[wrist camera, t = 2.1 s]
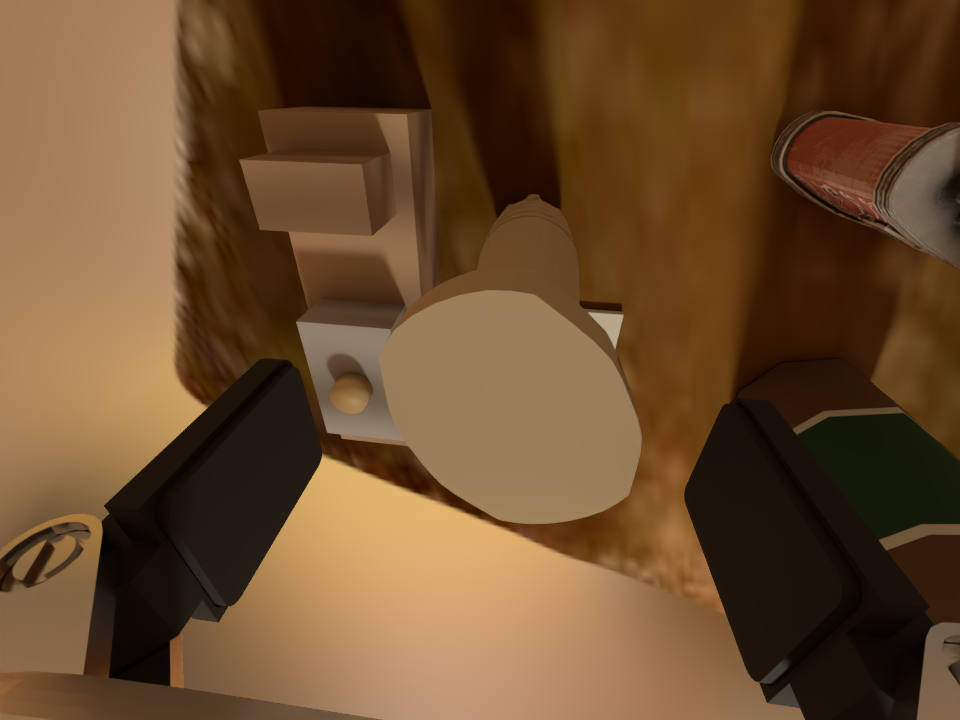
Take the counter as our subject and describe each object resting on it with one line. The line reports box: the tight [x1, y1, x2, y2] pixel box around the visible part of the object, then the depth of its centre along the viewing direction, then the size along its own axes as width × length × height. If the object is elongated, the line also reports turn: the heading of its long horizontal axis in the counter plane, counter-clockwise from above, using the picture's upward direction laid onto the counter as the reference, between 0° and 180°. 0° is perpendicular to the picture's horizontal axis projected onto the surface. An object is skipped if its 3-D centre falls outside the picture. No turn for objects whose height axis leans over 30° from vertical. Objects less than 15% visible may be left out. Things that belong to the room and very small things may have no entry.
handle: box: [378, 194, 642, 524], centre depth 14 cm, size 5×6×15 cm
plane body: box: [240, 106, 440, 446], centre depth 21 cm, size 18×6×7 cm, turn 179°
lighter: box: [771, 110, 960, 269], centre depth 13 cm, size 8×3×10 cm, turn 69°
